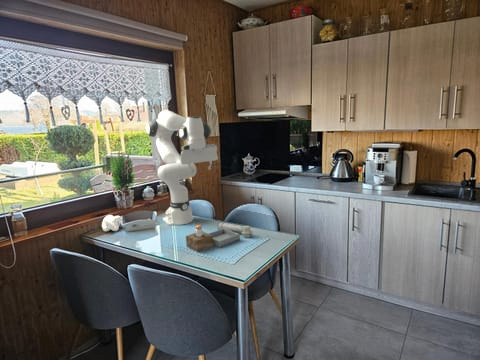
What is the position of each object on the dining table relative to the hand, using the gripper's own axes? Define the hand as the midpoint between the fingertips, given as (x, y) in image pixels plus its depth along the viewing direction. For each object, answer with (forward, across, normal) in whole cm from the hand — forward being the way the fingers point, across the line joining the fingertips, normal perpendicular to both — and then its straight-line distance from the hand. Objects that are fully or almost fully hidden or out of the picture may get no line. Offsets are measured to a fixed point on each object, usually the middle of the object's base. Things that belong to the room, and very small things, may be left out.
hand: (201, 170), depth 172 cm
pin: (+39, +5, +12) cm, 41 cm away
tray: (+39, -6, +6) cm, 40 cm away
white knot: (+32, +61, -24) cm, 73 cm away
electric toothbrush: (+39, -14, -4) cm, 42 cm away
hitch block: (+39, +5, +12) cm, 41 cm away
